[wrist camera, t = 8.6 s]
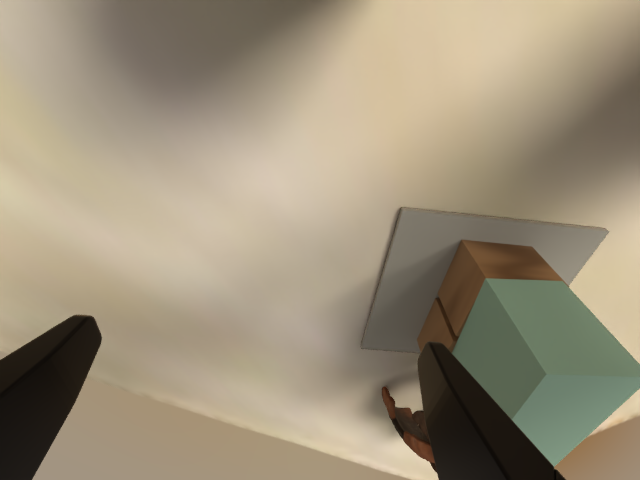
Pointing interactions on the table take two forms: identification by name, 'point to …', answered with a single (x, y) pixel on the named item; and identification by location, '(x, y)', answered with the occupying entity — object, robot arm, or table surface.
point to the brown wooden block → (437, 328)
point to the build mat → (437, 254)
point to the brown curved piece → (410, 428)
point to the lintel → (545, 361)
